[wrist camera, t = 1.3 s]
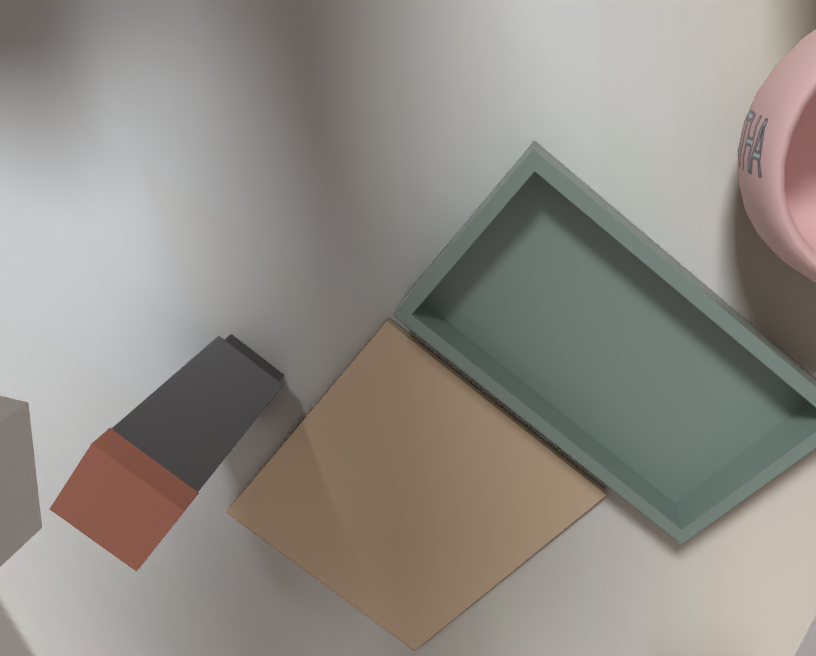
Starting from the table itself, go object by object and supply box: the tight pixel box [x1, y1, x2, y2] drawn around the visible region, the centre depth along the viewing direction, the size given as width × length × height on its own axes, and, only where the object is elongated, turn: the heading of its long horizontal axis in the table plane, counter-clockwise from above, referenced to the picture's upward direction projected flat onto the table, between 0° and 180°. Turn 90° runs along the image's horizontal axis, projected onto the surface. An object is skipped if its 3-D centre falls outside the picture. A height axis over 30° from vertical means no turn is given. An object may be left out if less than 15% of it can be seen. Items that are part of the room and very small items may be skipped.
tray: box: [393, 141, 816, 544], centre depth 29 cm, size 17×9×2 cm, turn 52°
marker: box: [50, 335, 284, 571], centre depth 30 cm, size 4×4×11 cm
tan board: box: [226, 318, 607, 651], centre depth 36 cm, size 14×16×1 cm
